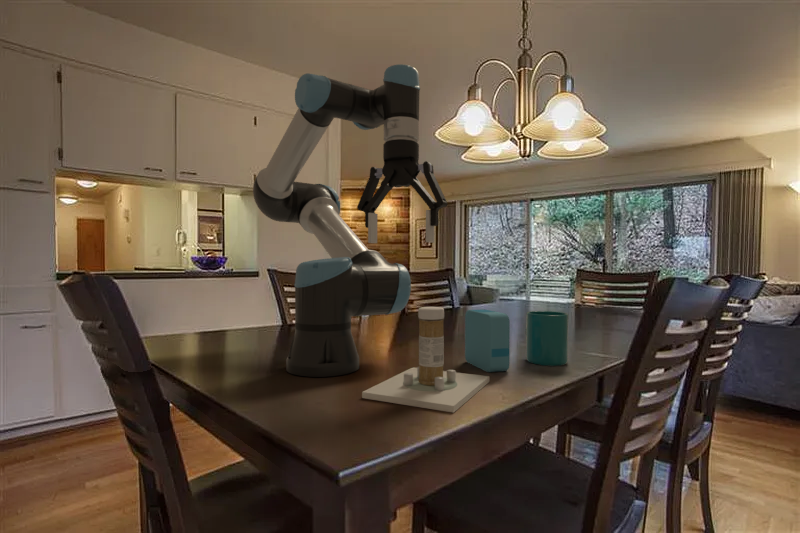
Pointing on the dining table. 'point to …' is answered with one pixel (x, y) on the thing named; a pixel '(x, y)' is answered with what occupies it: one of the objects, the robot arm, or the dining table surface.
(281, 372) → the dining table surface
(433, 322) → the sprinkles bottle
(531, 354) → the cup
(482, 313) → the data package
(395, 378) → the pin tray
